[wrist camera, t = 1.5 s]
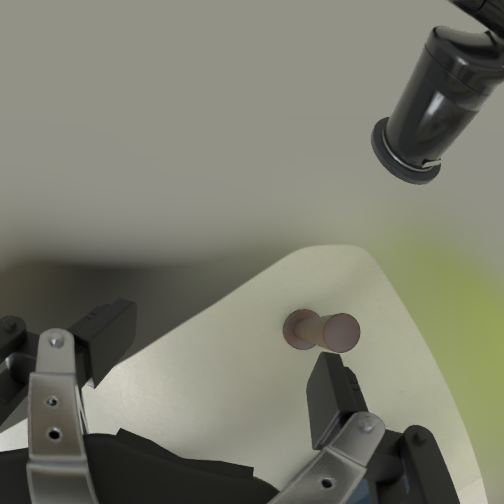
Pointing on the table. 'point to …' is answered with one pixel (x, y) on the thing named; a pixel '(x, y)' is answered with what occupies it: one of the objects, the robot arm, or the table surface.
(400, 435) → the robot arm
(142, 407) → the table surface
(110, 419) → the table surface
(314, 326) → the stirrer
